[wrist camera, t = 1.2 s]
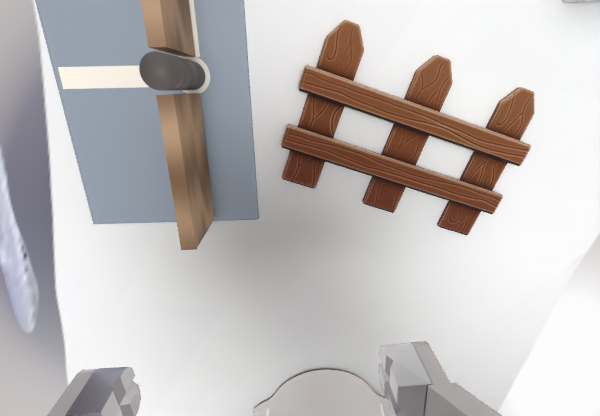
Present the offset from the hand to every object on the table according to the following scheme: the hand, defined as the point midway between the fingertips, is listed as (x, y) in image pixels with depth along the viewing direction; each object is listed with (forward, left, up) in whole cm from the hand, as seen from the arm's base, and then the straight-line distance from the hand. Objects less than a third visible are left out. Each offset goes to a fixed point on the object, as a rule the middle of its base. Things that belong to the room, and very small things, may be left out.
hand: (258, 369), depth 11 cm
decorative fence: (+4, -13, -24) cm, 28 cm away
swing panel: (+2, +7, -23) cm, 24 cm away
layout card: (+10, +11, -24) cm, 28 cm away
